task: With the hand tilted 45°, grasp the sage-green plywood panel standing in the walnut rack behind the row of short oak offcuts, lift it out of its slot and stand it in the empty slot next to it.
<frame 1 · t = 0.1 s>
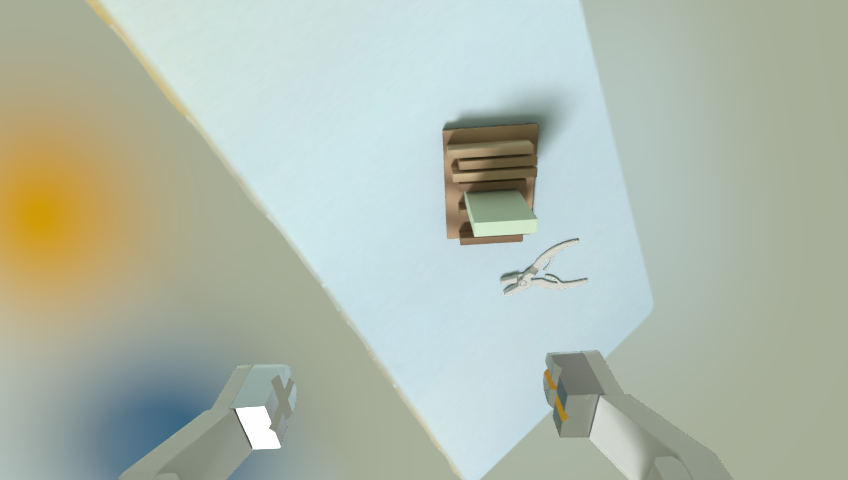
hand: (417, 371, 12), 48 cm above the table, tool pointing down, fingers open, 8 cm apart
offcut rack: (488, 183, 59), on the table
pliers: (540, 271, 68), on the table
tall sheet: (489, 192, 58), point 1 cm above the table, touching offcut rack
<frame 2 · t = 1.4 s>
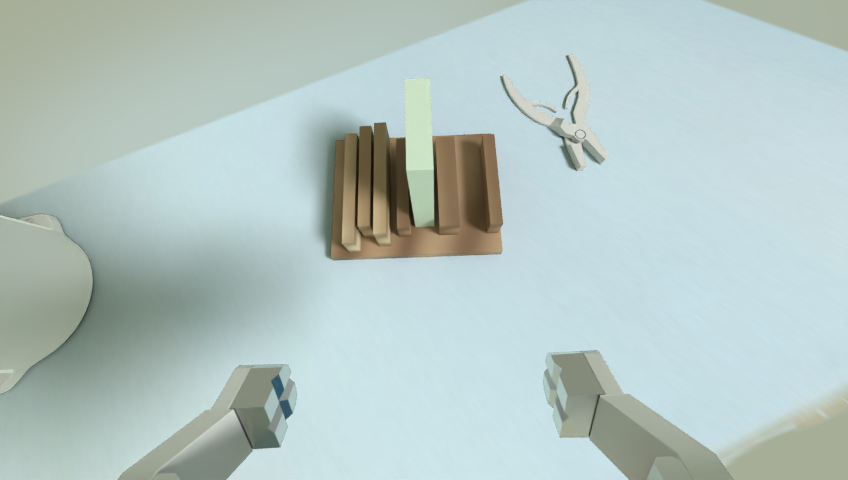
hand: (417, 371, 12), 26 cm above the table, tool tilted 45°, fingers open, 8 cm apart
offcut rack: (415, 197, 41), on the table
pliers: (561, 117, 44), on the table
tall sheet: (423, 192, 40), point 1 cm above the table, touching offcut rack
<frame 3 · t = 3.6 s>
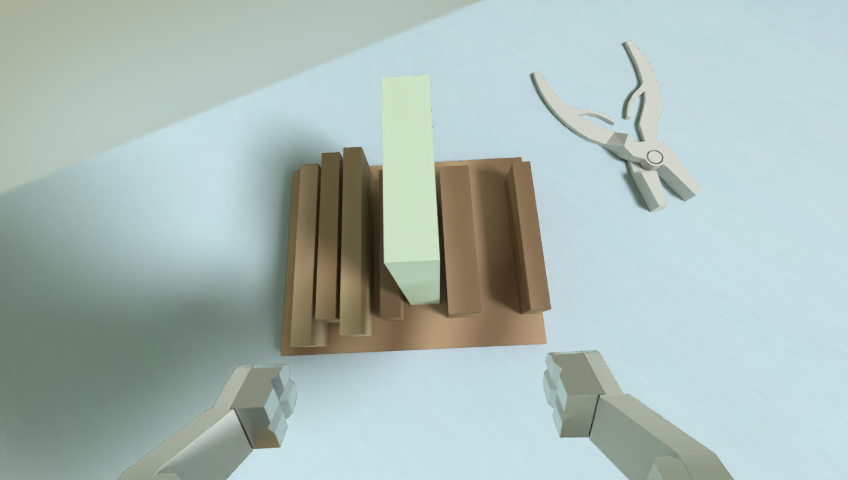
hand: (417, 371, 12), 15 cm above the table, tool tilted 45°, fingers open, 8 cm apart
offcut rack: (410, 254, 28), on the table
pliers: (620, 131, 31), on the table
tall sheet: (422, 249, 27), point 1 cm above the table, touching offcut rack
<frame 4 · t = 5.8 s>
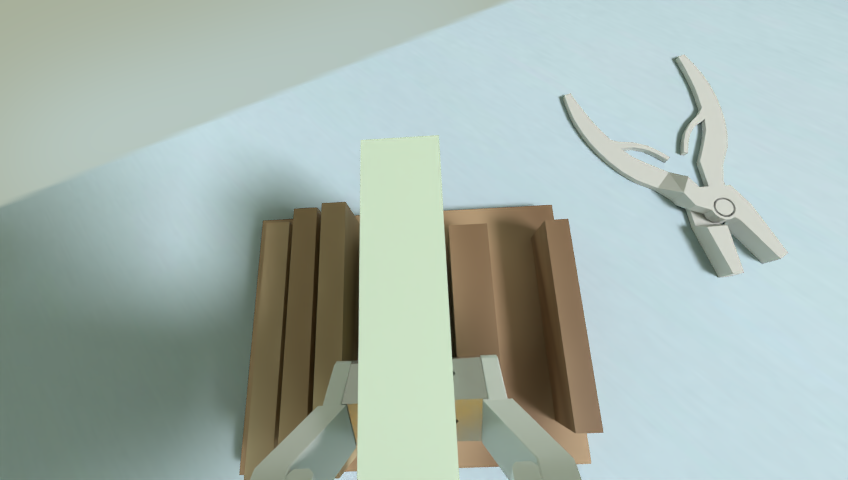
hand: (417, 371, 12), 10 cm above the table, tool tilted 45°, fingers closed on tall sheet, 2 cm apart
offcut rack: (410, 329, 22), on the table
pliers: (673, 169, 25), on the table
tall sheet: (426, 327, 21), point 1 cm above the table, touching gripper, offcut rack
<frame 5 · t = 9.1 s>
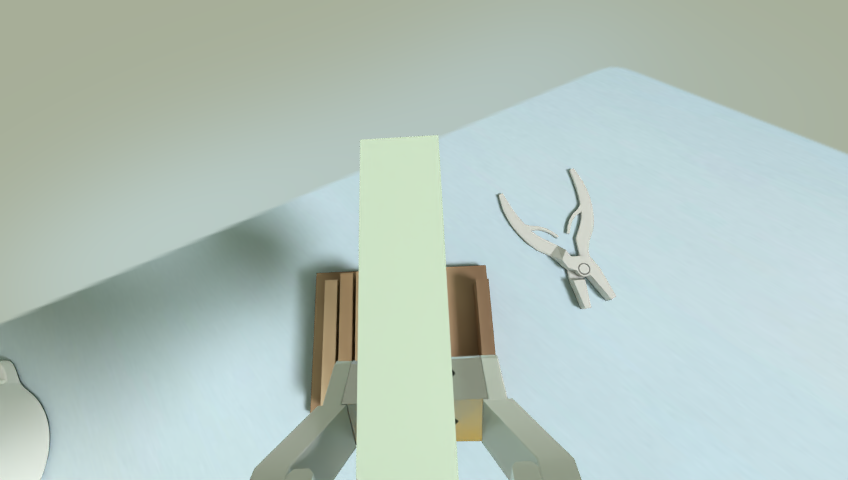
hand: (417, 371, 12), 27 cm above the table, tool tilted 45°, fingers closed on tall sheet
offcut rack: (403, 337, 38), on the table
pliers: (562, 242, 41), on the table
tall sheet: (425, 327, 21), point 18 cm above the table, touching gripper
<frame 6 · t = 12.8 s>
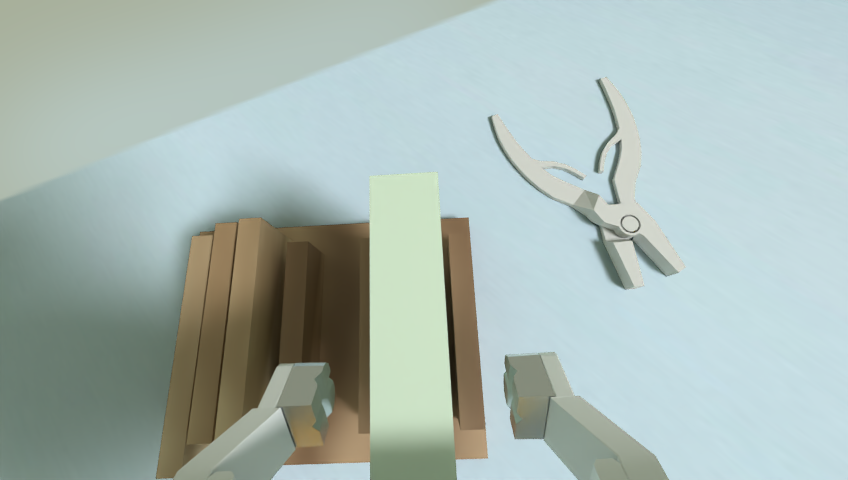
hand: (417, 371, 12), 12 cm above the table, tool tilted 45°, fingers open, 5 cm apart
offcut rack: (334, 334, 23), on the table
pliers: (592, 186, 26), on the table
tall sheet: (426, 333, 22), point 1 cm above the table, touching offcut rack
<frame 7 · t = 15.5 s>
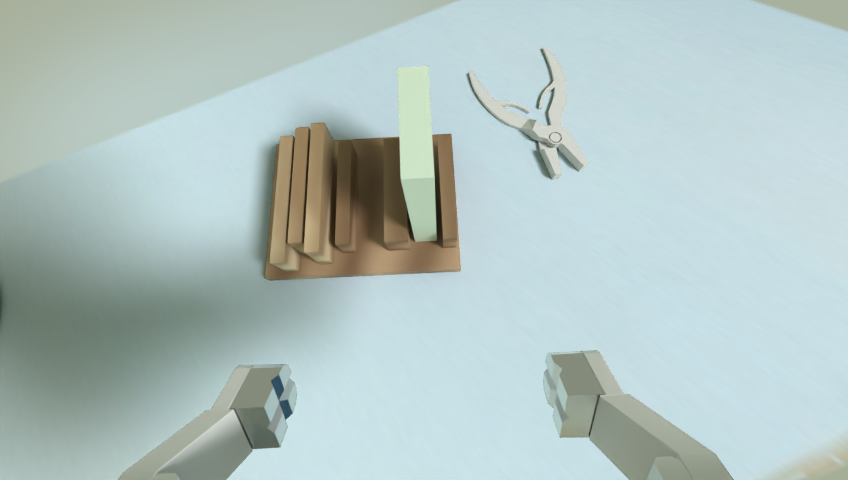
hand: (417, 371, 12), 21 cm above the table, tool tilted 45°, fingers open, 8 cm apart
offcut rack: (365, 206, 36), on the table
pliers: (535, 118, 39), on the table
tall sheet: (424, 201, 35), point 1 cm above the table, touching offcut rack
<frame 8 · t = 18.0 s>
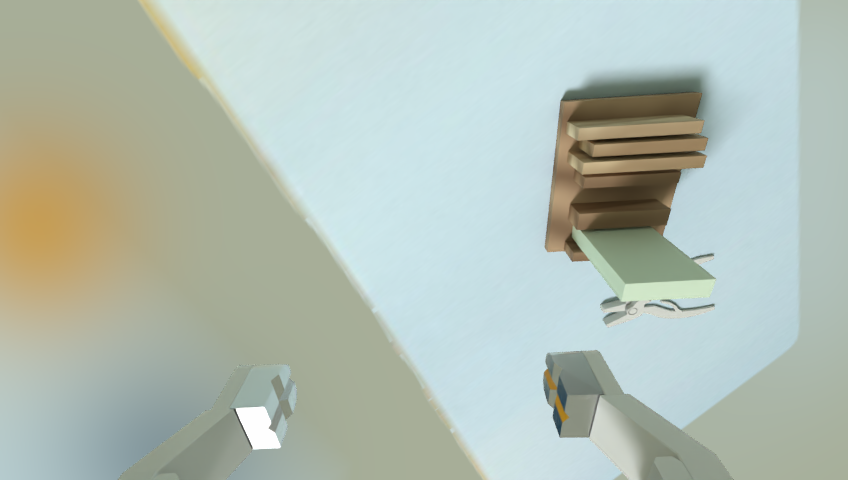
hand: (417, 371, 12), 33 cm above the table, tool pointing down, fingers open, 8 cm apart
offcut rack: (611, 177, 43), on the table
pliers: (653, 295, 52), on the table
tall sheet: (605, 227, 45), point 1 cm above the table, touching offcut rack
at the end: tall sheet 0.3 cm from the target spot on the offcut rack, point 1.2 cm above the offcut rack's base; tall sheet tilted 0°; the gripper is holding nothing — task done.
